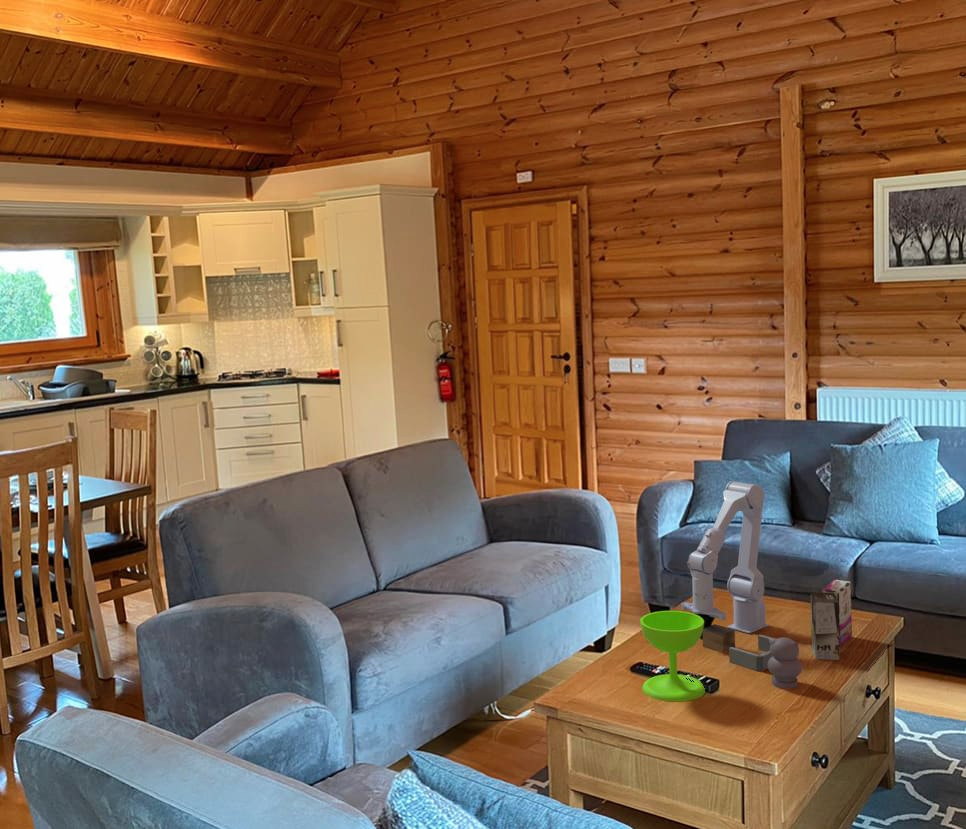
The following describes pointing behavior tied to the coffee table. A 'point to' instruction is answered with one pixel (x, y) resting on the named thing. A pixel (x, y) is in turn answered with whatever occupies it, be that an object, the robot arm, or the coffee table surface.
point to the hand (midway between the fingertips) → (703, 638)
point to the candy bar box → (842, 607)
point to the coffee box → (825, 625)
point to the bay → (752, 655)
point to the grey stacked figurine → (784, 663)
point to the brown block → (718, 638)
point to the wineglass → (672, 653)
